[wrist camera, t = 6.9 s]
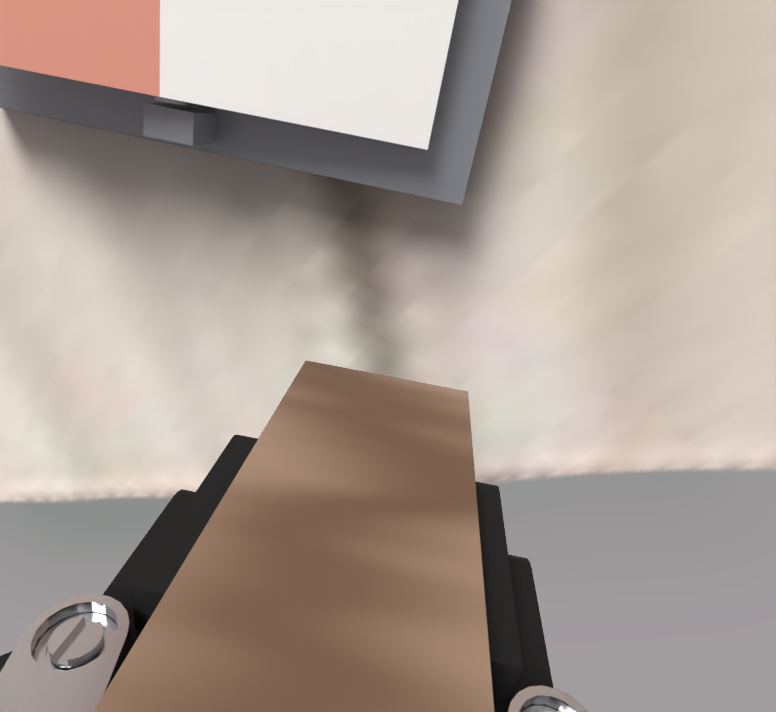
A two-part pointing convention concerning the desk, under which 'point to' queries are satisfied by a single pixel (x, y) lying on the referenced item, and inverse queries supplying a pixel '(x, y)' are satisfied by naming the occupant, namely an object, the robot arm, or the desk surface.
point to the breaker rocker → (251, 56)
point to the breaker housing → (294, 141)
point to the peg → (330, 566)
